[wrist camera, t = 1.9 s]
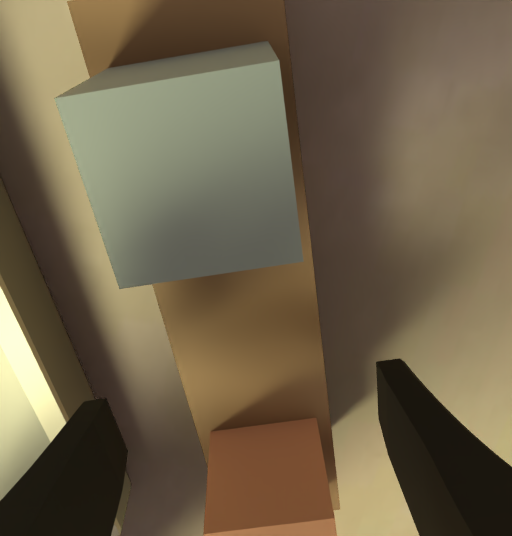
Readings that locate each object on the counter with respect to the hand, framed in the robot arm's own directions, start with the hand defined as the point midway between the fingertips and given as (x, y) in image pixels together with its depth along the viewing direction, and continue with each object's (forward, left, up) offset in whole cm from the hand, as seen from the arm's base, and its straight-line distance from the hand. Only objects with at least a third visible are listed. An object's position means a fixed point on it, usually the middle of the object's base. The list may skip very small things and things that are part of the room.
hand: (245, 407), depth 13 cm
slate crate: (+6, 0, -4) cm, 7 cm away
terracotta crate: (-6, 0, -4) cm, 7 cm away
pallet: (0, 0, -8) cm, 8 cm away
